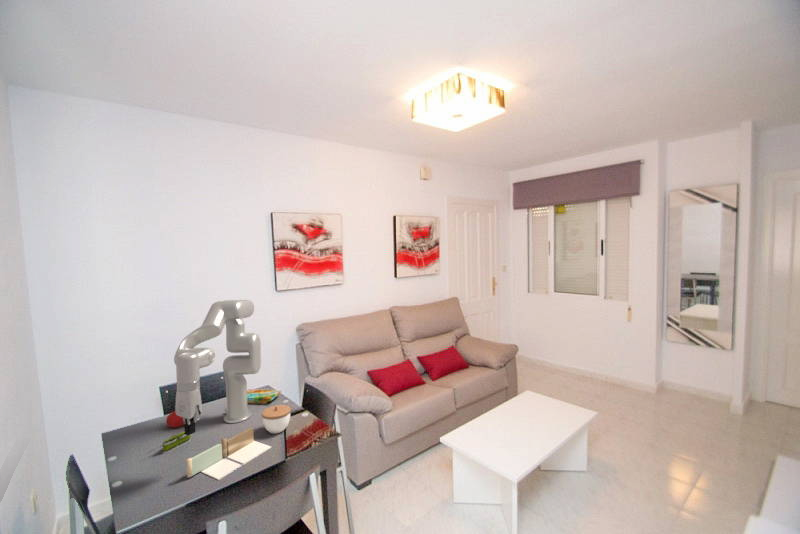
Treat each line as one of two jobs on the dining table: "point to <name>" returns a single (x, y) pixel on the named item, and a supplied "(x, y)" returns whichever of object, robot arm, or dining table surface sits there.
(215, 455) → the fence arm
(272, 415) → the lidded bowl
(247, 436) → the base
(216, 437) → the dining table surface
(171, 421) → the red teapot
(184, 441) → the green slotted rack
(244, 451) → the card
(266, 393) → the puzzle game
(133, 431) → the dining table surface
